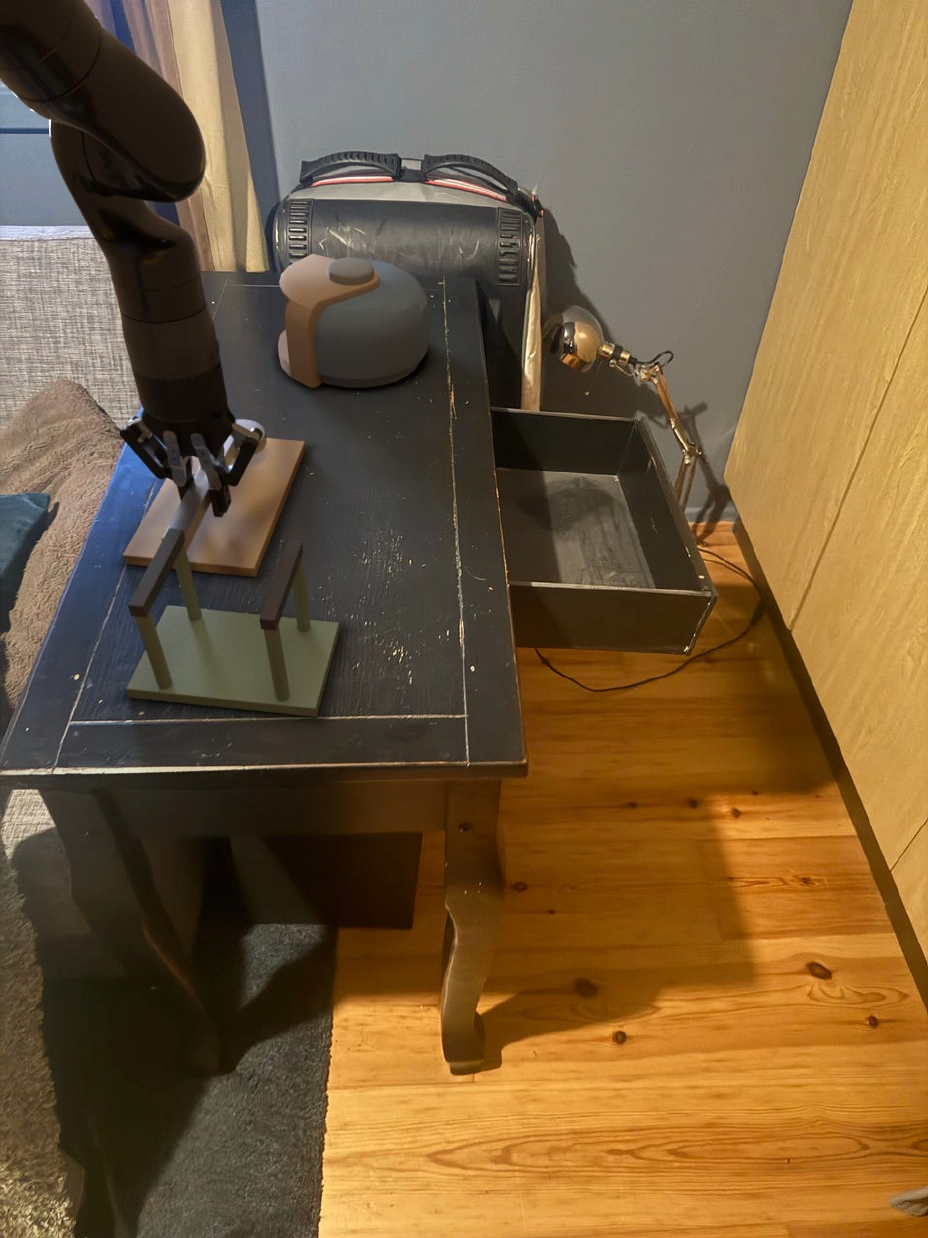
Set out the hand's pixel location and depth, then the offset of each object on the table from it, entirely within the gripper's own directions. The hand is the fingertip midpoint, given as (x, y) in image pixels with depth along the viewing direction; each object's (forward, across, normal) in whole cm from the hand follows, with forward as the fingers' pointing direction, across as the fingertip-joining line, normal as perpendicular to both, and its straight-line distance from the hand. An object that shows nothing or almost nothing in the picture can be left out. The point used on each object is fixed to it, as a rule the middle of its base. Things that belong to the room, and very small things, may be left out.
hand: (208, 510), depth 84 cm
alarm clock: (+2, +8, +38) cm, 39 cm away
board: (+2, 0, +4) cm, 4 cm away
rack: (+2, +8, -18) cm, 20 cm away
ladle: (-1, 0, +3) cm, 3 cm away
